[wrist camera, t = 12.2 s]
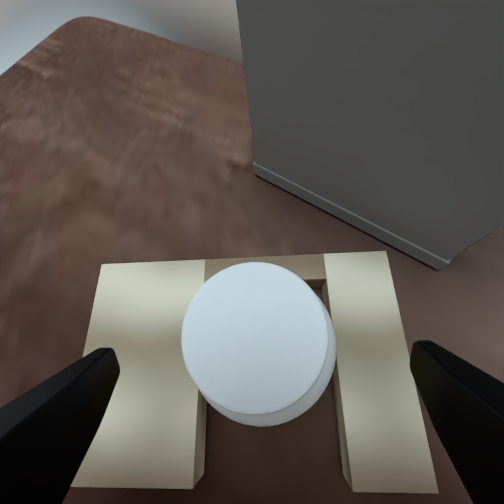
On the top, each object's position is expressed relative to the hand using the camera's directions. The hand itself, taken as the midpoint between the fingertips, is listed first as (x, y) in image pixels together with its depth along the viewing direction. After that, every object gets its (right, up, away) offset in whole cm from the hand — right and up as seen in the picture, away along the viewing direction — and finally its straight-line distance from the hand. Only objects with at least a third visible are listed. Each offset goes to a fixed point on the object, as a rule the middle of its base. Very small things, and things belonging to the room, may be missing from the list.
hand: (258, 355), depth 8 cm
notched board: (-1, -3, +8) cm, 8 cm away
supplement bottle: (+1, -3, +8) cm, 9 cm away
